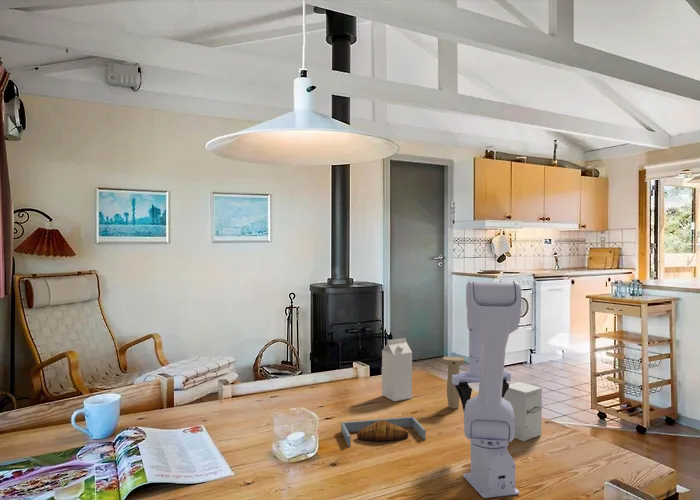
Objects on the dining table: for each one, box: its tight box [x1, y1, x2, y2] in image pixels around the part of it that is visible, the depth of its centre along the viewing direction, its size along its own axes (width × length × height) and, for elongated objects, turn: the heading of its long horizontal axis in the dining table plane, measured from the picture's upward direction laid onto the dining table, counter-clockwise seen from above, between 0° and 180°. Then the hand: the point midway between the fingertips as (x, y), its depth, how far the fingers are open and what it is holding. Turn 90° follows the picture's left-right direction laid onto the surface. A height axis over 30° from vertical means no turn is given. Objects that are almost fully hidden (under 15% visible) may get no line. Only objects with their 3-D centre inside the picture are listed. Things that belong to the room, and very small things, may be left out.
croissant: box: [356, 420, 409, 442], centre depth 124 cm, size 14×7×5 cm, turn 94°
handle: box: [442, 356, 465, 409], centre depth 147 cm, size 5×6×15 cm
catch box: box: [340, 416, 427, 447], centre depth 125 cm, size 10×20×2 cm, turn 102°
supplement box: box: [503, 381, 543, 442], centre depth 126 cm, size 7×7×13 cm
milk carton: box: [381, 337, 413, 402], centre depth 156 cm, size 7×7×19 cm
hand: (481, 412), depth 116 cm, fingers open, 7 cm apart
